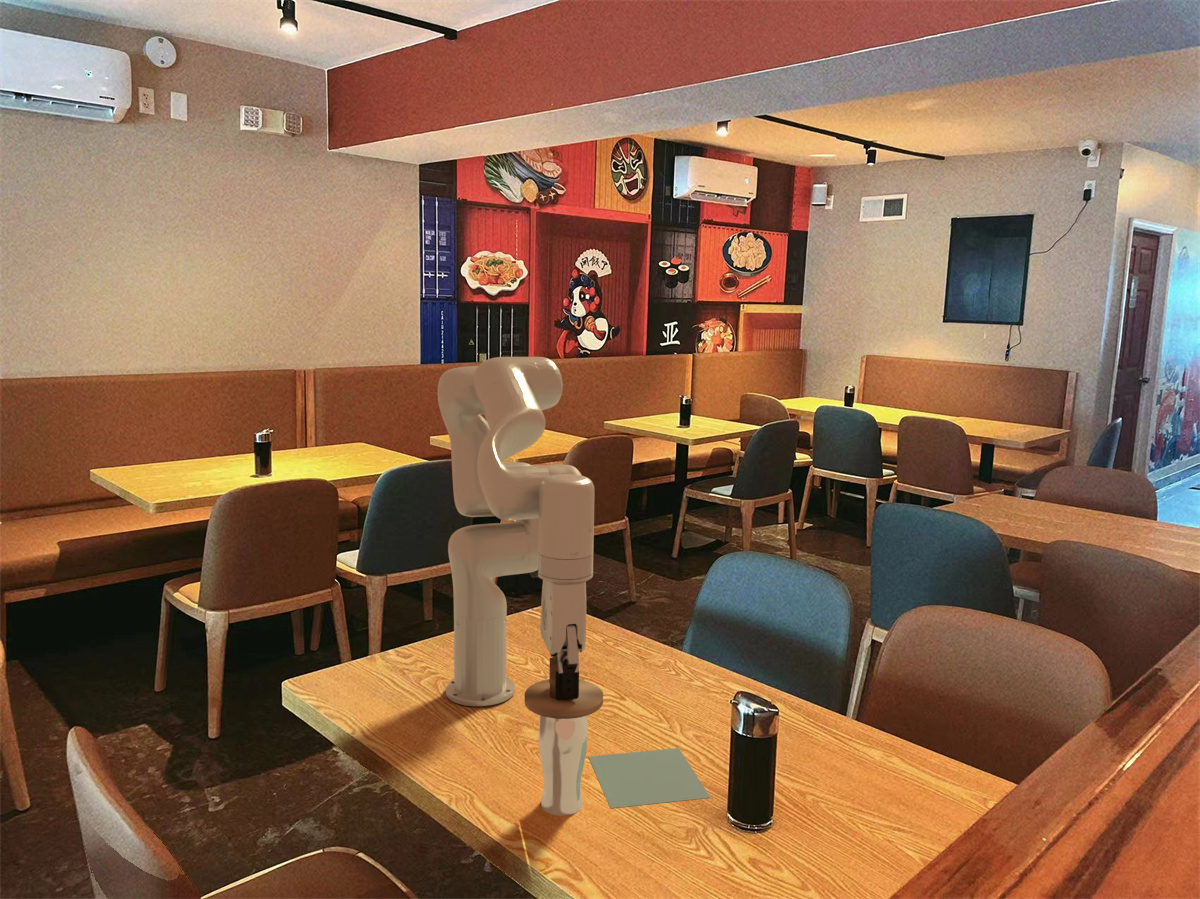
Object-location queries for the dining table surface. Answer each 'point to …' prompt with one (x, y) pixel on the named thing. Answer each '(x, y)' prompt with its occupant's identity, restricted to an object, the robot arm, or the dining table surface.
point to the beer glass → (562, 763)
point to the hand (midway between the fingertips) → (563, 690)
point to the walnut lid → (546, 705)
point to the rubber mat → (647, 778)
